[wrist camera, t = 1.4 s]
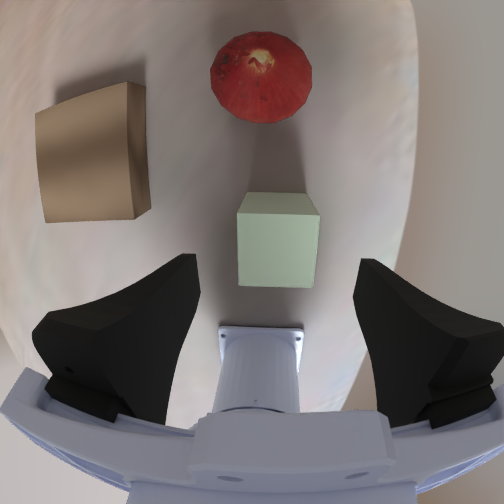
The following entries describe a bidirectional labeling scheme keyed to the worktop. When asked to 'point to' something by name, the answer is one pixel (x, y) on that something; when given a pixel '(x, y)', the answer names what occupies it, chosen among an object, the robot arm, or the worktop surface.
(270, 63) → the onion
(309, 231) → the sage block
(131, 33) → the worktop surface
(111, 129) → the walnut base
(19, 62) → the worktop surface
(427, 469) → the robot arm
